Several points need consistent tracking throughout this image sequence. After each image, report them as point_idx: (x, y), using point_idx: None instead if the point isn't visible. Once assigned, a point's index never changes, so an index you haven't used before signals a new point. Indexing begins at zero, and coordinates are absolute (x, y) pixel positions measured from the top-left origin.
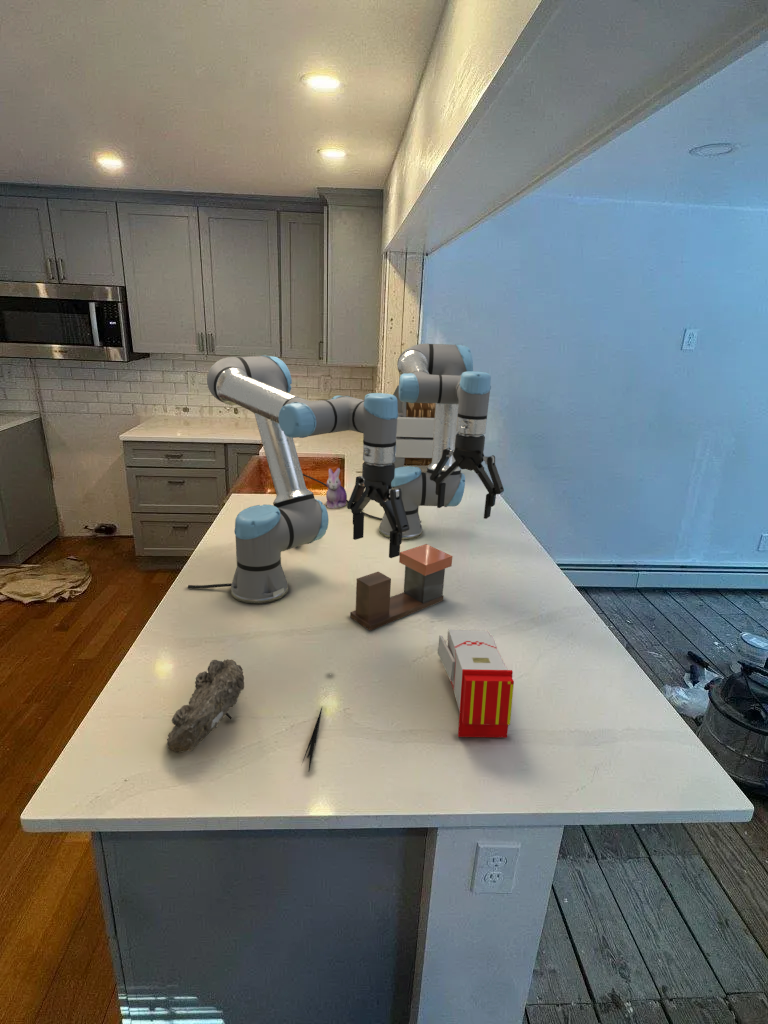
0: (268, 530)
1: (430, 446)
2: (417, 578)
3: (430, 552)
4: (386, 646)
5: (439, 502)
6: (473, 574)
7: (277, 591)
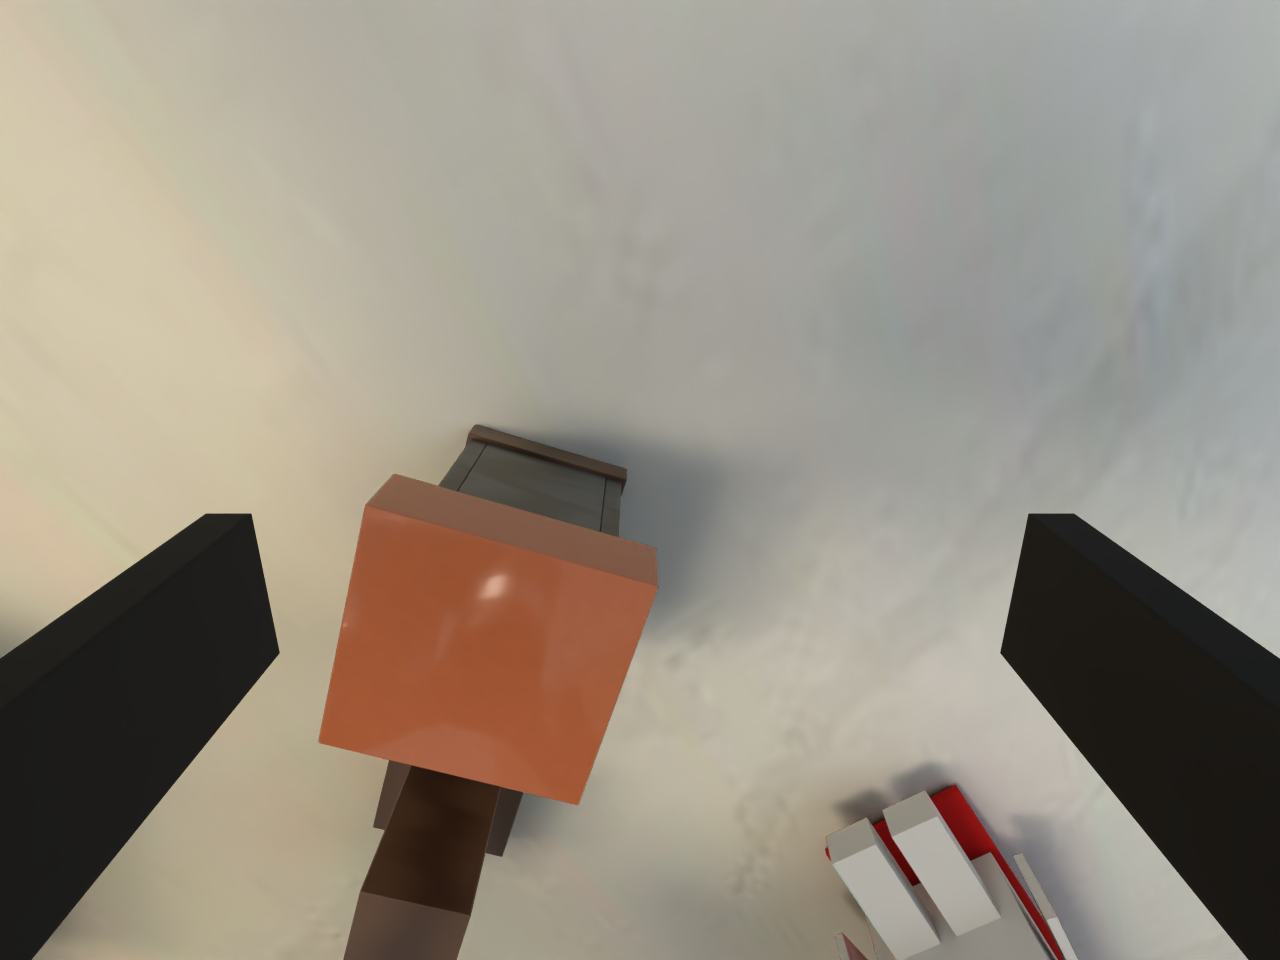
0: None
1: None
2: None
3: (489, 627)
4: (614, 874)
5: (223, 713)
6: (627, 8)
7: None
